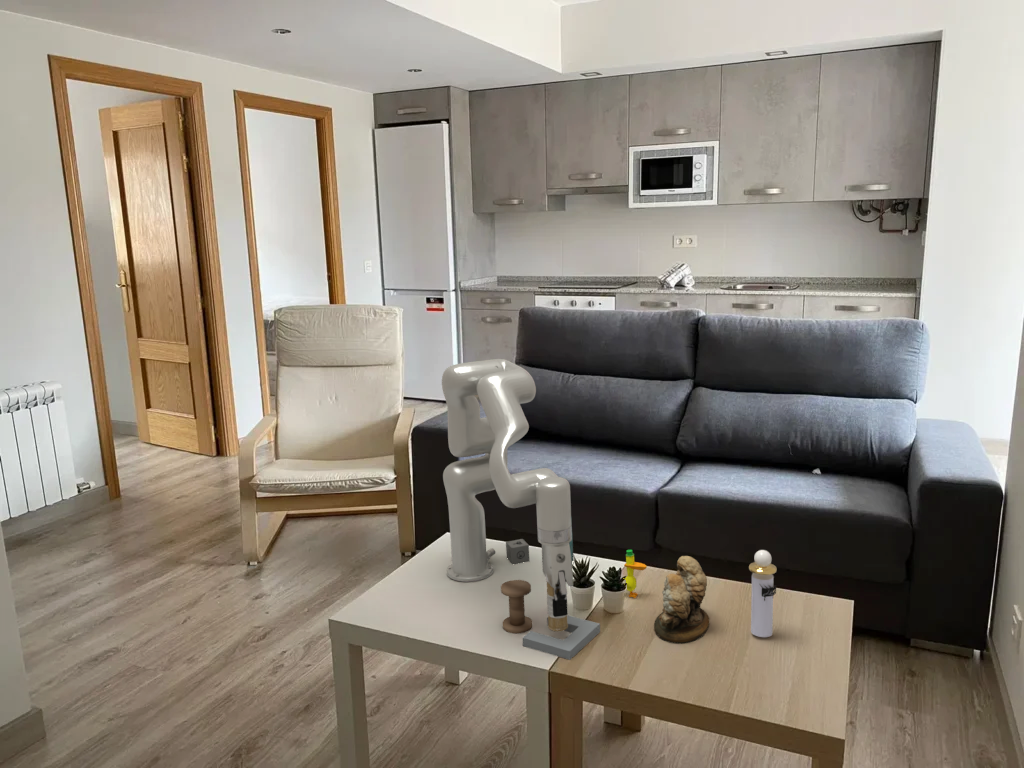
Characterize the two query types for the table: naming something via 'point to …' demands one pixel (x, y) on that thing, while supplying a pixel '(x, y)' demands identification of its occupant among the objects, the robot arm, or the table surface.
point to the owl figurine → (683, 604)
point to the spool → (516, 606)
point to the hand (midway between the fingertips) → (557, 609)
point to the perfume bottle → (762, 594)
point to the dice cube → (517, 551)
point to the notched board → (569, 646)
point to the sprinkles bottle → (554, 622)
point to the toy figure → (632, 572)
